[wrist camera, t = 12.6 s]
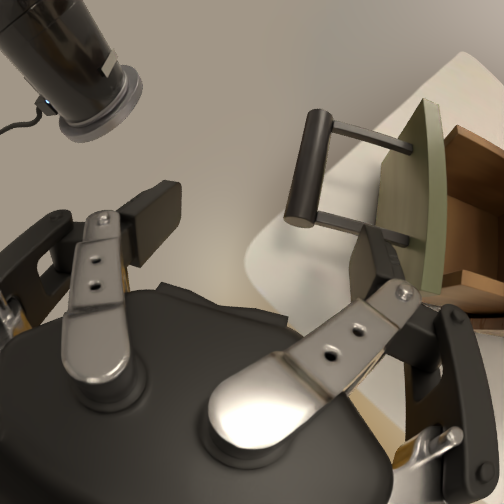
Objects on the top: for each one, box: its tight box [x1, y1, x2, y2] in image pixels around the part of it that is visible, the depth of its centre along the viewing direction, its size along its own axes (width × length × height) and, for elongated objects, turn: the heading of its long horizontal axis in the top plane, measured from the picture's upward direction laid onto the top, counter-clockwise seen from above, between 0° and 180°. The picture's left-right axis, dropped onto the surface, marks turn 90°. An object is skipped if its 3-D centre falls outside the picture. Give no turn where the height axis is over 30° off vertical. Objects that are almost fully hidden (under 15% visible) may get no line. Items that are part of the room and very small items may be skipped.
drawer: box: [283, 98, 504, 318], centre depth 16 cm, size 20×12×9 cm, turn 75°
